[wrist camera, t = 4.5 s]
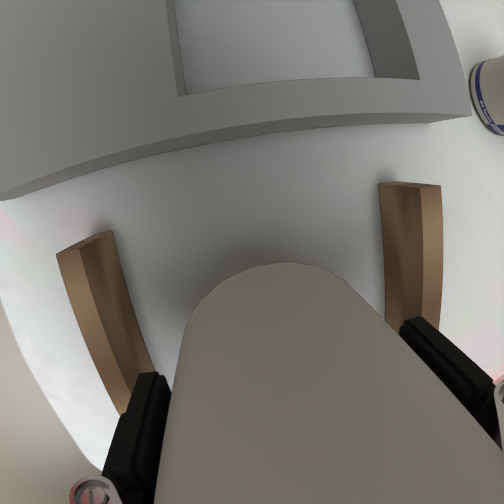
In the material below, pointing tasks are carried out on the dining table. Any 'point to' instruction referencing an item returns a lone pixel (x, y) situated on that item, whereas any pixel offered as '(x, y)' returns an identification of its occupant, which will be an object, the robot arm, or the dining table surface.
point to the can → (313, 404)
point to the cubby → (124, 320)
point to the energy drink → (489, 93)
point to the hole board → (174, 92)
